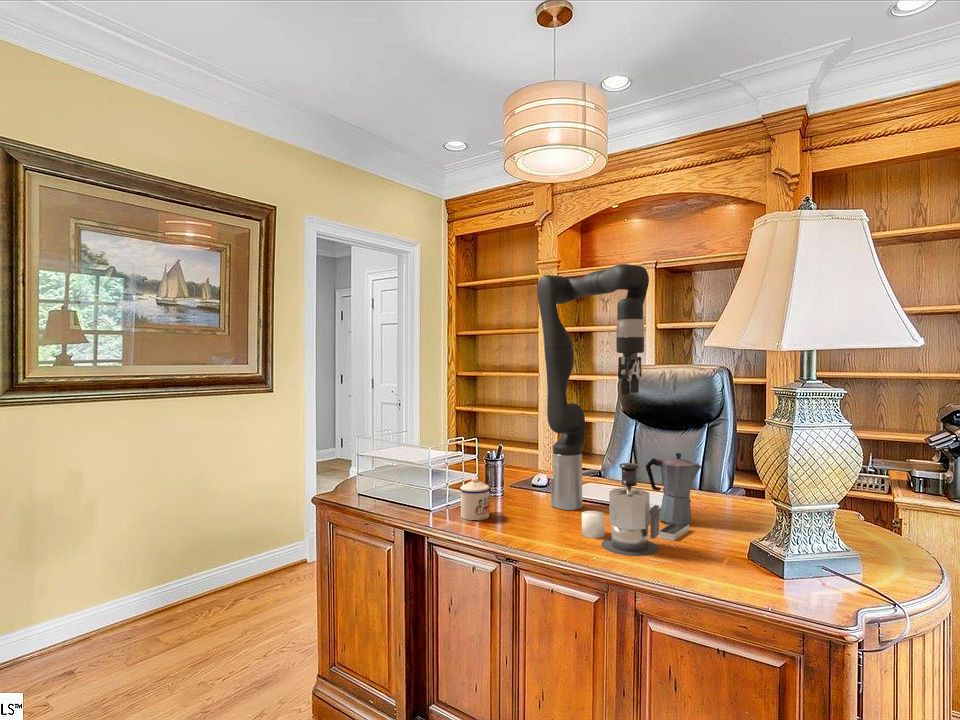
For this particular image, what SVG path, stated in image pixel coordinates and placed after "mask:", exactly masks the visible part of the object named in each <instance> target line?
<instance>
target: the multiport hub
mask: <svg viewBox="0 0 960 720" xmlns="http://www.w3.org/2000/svg"><path fill="white" fill-rule="evenodd" d="M688 532H690V524H689V525H687V524H682V523H677V522H673V523H671V524H668V525H666V526H665V527H663V528H661V529H659V534H658V536H657V537H658V538H660V539H665V540H669V541H676V540H677V539H679V538H681V537H682V536H684V535H685V534H687V533H688Z"/></svg>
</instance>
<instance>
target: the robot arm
mask: <svg viewBox="0 0 960 720" xmlns="http://www.w3.org/2000/svg"><path fill="white" fill-rule="evenodd" d="M649 282H650V276H649V272H648V270H647V269H646V268H645V267H644V266H641V265H636V264H635V265H633V264H630V263H629V264H628V263H622V264H621V263H619V264H616V265H613V266H611V267H609V268H607V269H601V270H596V271H592V272H590V273H586V274H585V275H584V276H581V277H566V276H562V275H555V274H554V275H551V274H550V275H549V274H544V275H542V276H541V277H539V279H538V282H537V285H536V294H537V301H538V308H539V313H540V318H541V324H542V333H543V334H542V335H543V346H544V359H545V360H544V361H545V369H546V382H547V383H546V384H547V387H546V388H547V400H546V401H547V402H546V403H547V405H546V406H547V408H546V410H547V411H546V415H547V423H548V426H549V428H550V430H552V431H553V432H554V433H556V434H561V435H560V438H559V439H558V440H557V441H556V442H555V443H554V444H553V446H552V464H553V465H552V469H553V470H552V472H553V475H552V476H551V477H550V506H551V508H553V507H554V508H556V509H558V510H565V511H574V510H575V511H576V510H580V509H582V508H583V448H584V444H585V432H586V416H585V412H584V410H583V408H582V407H581V405H579V404H577V403H575V402H571V403H568V399H567V397H568V396H567V388H568V382H569V379H570V377H571V375H572V371H573V368H574V364H575V358H574V347H573V341H572V338H571V336H570V334H569V332H568V330H567V329H566V327H565V326H564V325H563V322H562V321H561V318H560V315H559V311H558V305H562V304H566V303H570V302H572V301H574V300H577V299H580V298H583V297H590V296H597V295H605V294H606V295H607V294H611V293H614V292H615V291H617V290H618V291H619V290H625V291H627V294H626V298H622V299H619V300H618V302H617V305H616V306H617V307H616V308H617V309H616V311H617V312H616V313H617V315H616V316H617V317H616V318H617V320H616V321H617V323H616V328H615V329H616V333H615V334H616V336H615V337H616V338H615V339H616V349H615V350H616V352H617V354H622V356H618V359H617V360H618V363H617V364H618V366H617V368H618V370H617V371H618V372H617V378H618V380H620V381H621V383H620V385H621V395H622V396H629V395H631V393H632V394H638V393H639V391H640V388H639V386H640V379H641V378H642V357H641V356H638V354H642V353H644V352H645V325H644V303H645V301H646V300H645V299H646V297H647V293H648V289H649V288H648V287H649Z"/></svg>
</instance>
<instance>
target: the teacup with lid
mask: <svg viewBox="0 0 960 720" xmlns="http://www.w3.org/2000/svg"><path fill="white" fill-rule="evenodd" d="M459 491H460V518H462V519H463V520H466V521H471V520H478V521H483V520H484V521H485V520H487V519H488V518H489V517H490V498H491V492H490V491H491V488H490V486H489V485H488V484H486V483H483V482H481V481H479V478H478V477H472V478H471V481H469V482H467V483H465V484H462V485H461V486H460V488H459Z"/></svg>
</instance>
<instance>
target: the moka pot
mask: <svg viewBox="0 0 960 720" xmlns="http://www.w3.org/2000/svg"><path fill="white" fill-rule="evenodd" d="M653 465H654V466H657V467H660V469H661V478H662V481H661V483H662V486H663V489H662V491H663V496H662V502H661V505H660V509H659V521H661V522H662V523H663V522H664V523H666V524H668V525H670V524H671V523H673V522H677V523H682V524H687V525H689V526H690V525H691V524H692V509H691V507H692V506H691V502H692V500H691V497H690V495H691V490H692V489H693V485H694V484H693V483H694V480H695V478H696V477H697V474H698V473H699V471H700V469H702V468H703V466H702V465H701V464H699V463H697V462H692V461H689V460H685V459H682V453H678V452H677V453H675V458H666V459H657V458H651V459H650V460H649V461H648V462H647V464H645V469H646V472H647V476H648V480H649V483H650V485H651V489H652V490H653V491H657V492H660V491H661V487H659V486H656V484H655V479H654V475H653V472H652V467H651V466H653Z"/></svg>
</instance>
